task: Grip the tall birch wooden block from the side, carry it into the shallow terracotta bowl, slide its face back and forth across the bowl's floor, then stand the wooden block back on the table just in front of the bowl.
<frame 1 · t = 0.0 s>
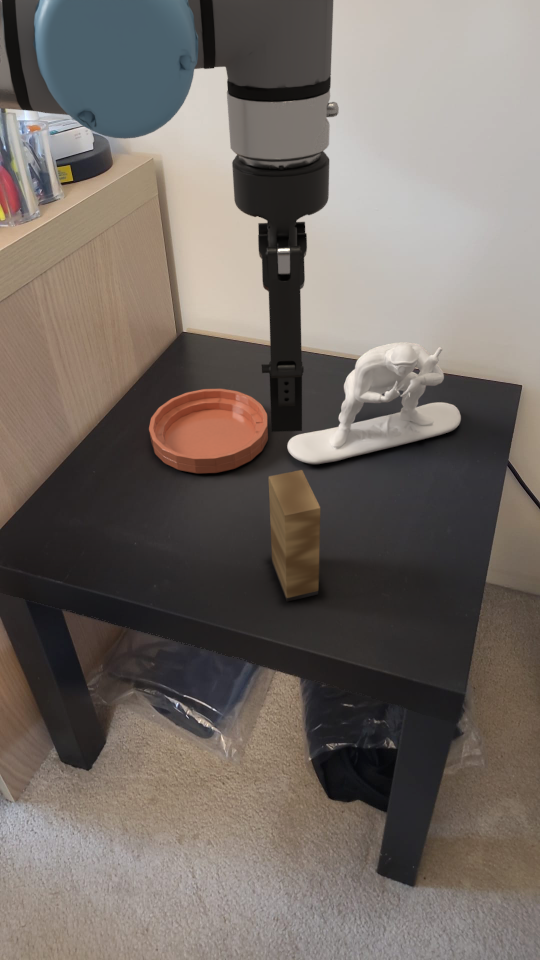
hand: (285, 387, 66), 22 cm above the table, tool pointing down, fingers open, 13 cm apart
bowl: (210, 438, 96), on the table
figurine: (375, 439, 95), on the table
wooden block: (294, 578, 76), on the table
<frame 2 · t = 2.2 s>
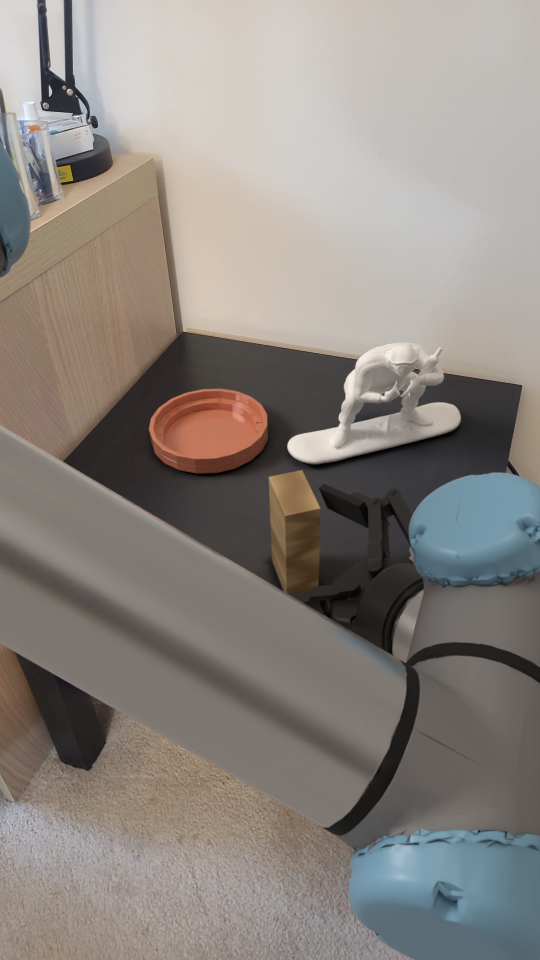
hand: (274, 534, 68), 10 cm above the table, tool tilted 70°, fingers open, 13 cm apart
nothing on the table moved.
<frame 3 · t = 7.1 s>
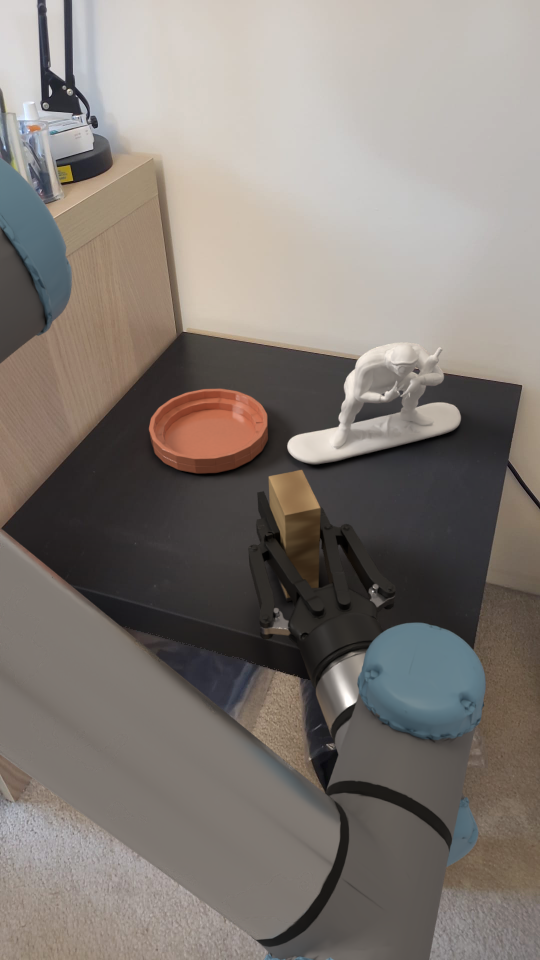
hand: (279, 497, 75), 8 cm above the table, tool horizontal, fingers closed on wooden block, 4 cm apart
wooden block: (294, 578, 76), on the table, touching gripper
everything else where it was.
when the fingers open (7 cm above the table, at t = 24.0 s): wooden block stays where it is, on the table.
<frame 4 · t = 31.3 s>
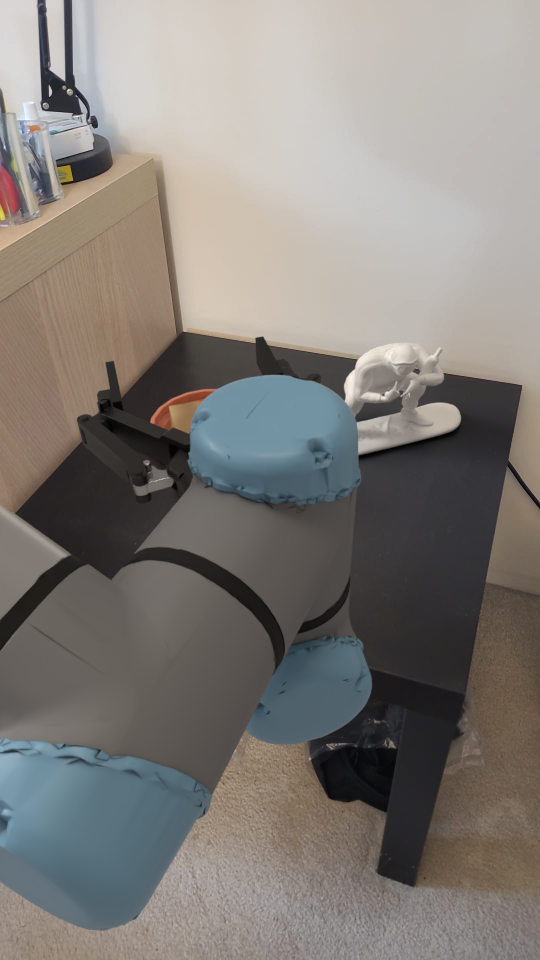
hand: (187, 361, 62), 26 cm above the table, tool horizontal, fingers open, 13 cm apart
wooden block: (199, 501, 86), on the table
everything else where it was.
at the end: wooden block inside the target area on the table beside the bowl (0.4 cm from its centre), on the table; wooden block tilted 0°; the gripper is holding nothing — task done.
